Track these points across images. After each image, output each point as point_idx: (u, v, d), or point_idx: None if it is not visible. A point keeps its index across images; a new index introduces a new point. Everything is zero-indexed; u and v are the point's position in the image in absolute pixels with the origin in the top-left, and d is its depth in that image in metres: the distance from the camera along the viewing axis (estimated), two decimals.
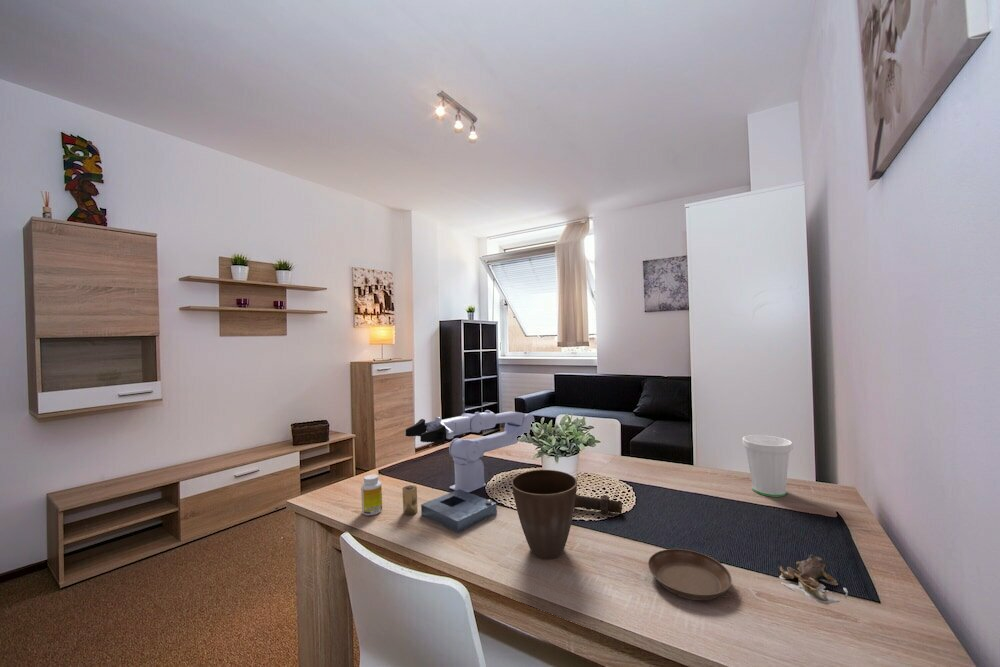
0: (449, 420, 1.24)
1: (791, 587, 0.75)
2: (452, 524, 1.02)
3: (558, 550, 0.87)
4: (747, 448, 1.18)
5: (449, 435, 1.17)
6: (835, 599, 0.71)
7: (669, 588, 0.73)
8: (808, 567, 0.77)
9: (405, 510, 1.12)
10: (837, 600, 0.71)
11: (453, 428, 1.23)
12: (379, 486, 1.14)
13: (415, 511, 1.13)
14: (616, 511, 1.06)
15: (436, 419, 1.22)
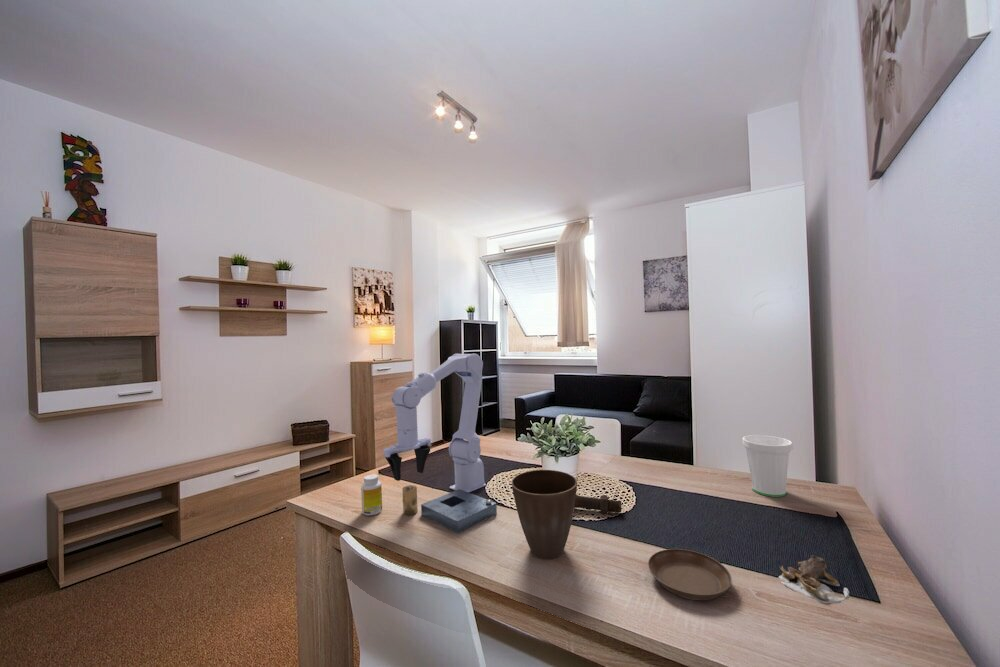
0: (415, 432, 1.13)
1: (792, 587, 0.75)
2: (452, 524, 1.02)
3: (558, 550, 0.87)
4: (747, 448, 1.18)
5: None
6: (836, 599, 0.71)
7: (669, 588, 0.73)
8: (809, 568, 0.76)
9: (405, 510, 1.12)
10: (837, 600, 0.71)
11: None
12: (379, 486, 1.14)
13: (415, 511, 1.13)
14: (616, 510, 1.07)
15: (413, 448, 1.11)
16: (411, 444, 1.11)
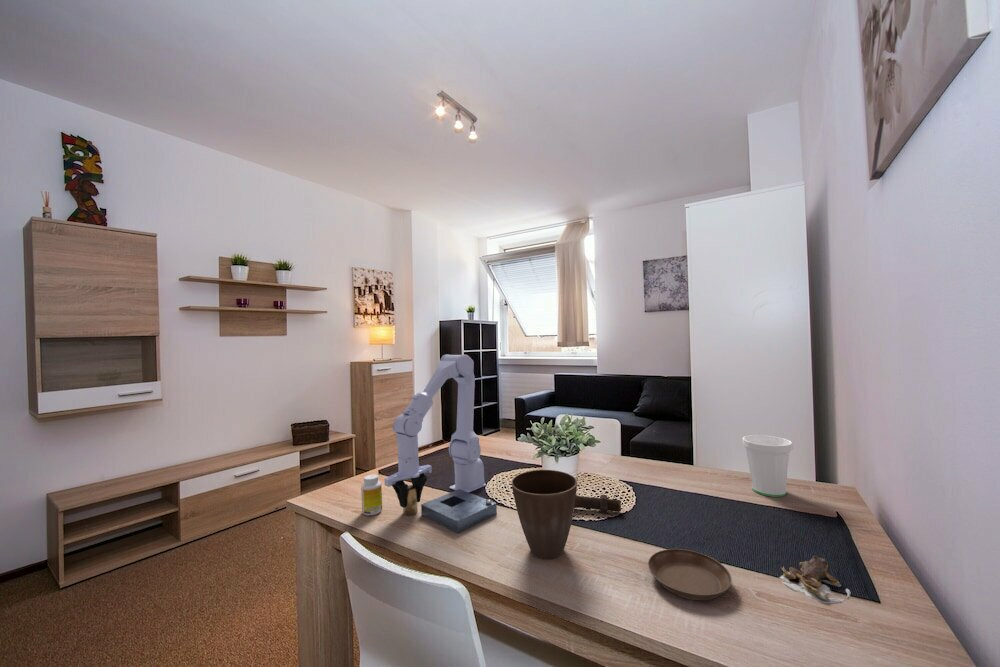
0: (416, 461, 1.13)
1: (793, 587, 0.75)
2: (452, 524, 1.02)
3: (558, 550, 0.87)
4: (747, 448, 1.18)
5: None
6: (837, 600, 0.71)
7: (669, 588, 0.73)
8: (811, 568, 0.76)
9: (405, 510, 1.12)
10: (838, 601, 0.70)
11: None
12: (379, 486, 1.14)
13: (415, 511, 1.13)
14: (616, 510, 1.07)
15: None
16: (412, 472, 1.11)
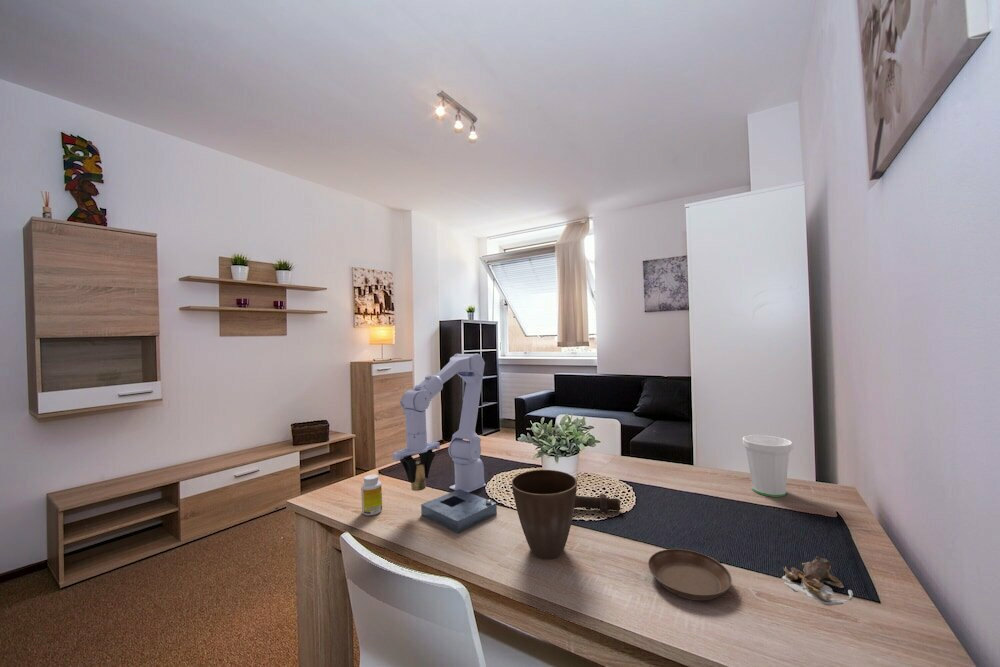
0: (424, 436, 1.12)
1: (794, 587, 0.75)
2: (452, 524, 1.02)
3: (558, 550, 0.87)
4: (747, 448, 1.18)
5: None
6: (838, 601, 0.70)
7: (669, 588, 0.73)
8: (813, 569, 0.76)
9: (413, 486, 1.12)
10: (840, 601, 0.70)
11: None
12: (379, 486, 1.14)
13: (423, 486, 1.12)
14: (615, 509, 1.08)
15: None
16: (420, 448, 1.11)
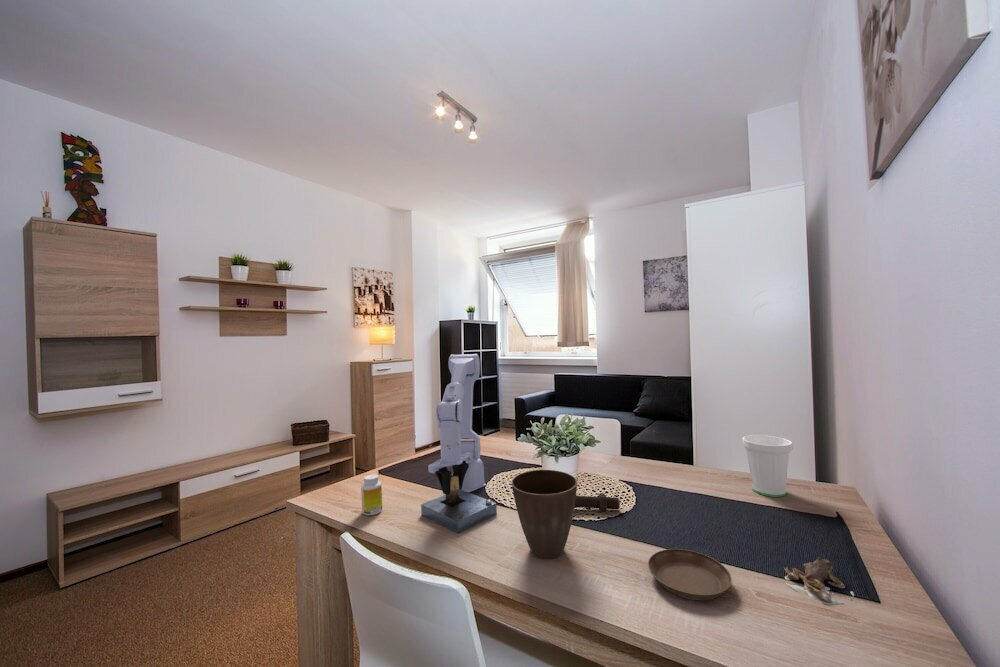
0: (459, 448, 1.12)
1: (795, 588, 0.75)
2: (452, 524, 1.02)
3: (558, 550, 0.87)
4: (747, 448, 1.18)
5: None
6: (839, 601, 0.70)
7: (669, 588, 0.73)
8: (814, 569, 0.76)
9: (448, 498, 1.11)
10: (841, 602, 0.70)
11: None
12: (379, 486, 1.14)
13: (458, 498, 1.12)
14: (615, 507, 1.09)
15: None
16: (455, 459, 1.10)
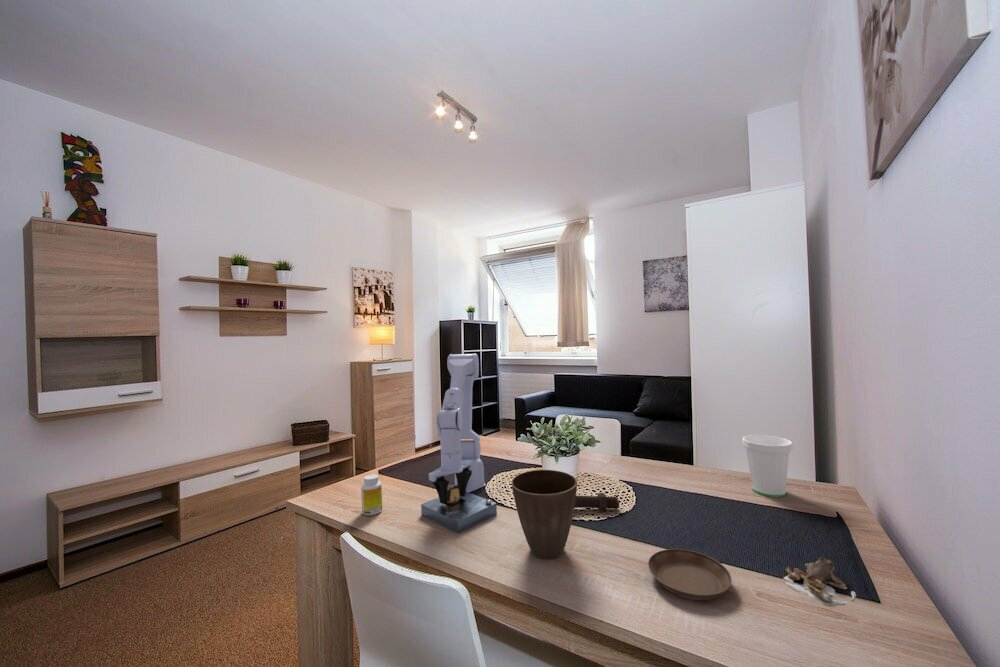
0: (459, 456, 1.12)
1: (796, 588, 0.74)
2: (452, 524, 1.02)
3: (558, 550, 0.87)
4: (747, 448, 1.18)
5: None
6: (840, 602, 0.70)
7: (669, 588, 0.73)
8: (816, 569, 0.76)
9: None
10: (842, 603, 0.70)
11: None
12: (379, 486, 1.14)
13: None
14: (614, 507, 1.09)
15: None
16: (456, 468, 1.10)
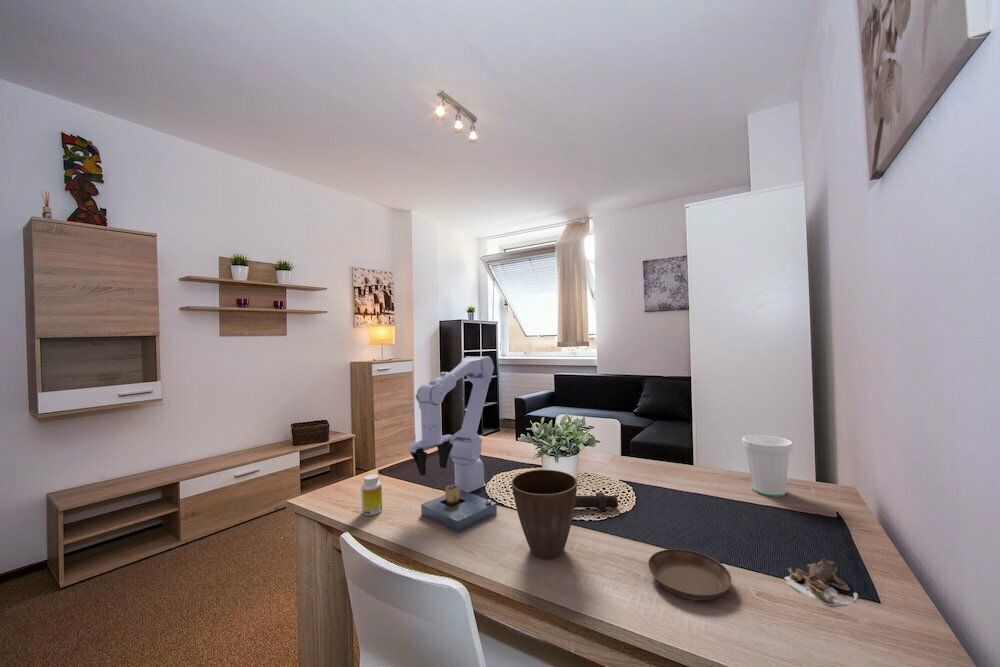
0: (439, 429, 1.16)
1: (797, 588, 0.74)
2: (452, 524, 1.02)
3: (558, 550, 0.87)
4: (747, 448, 1.18)
5: None
6: (842, 603, 0.70)
7: (669, 588, 0.73)
8: (818, 570, 0.76)
9: None
10: (843, 603, 0.70)
11: None
12: (379, 486, 1.14)
13: None
14: (613, 506, 1.10)
15: None
16: (435, 440, 1.15)
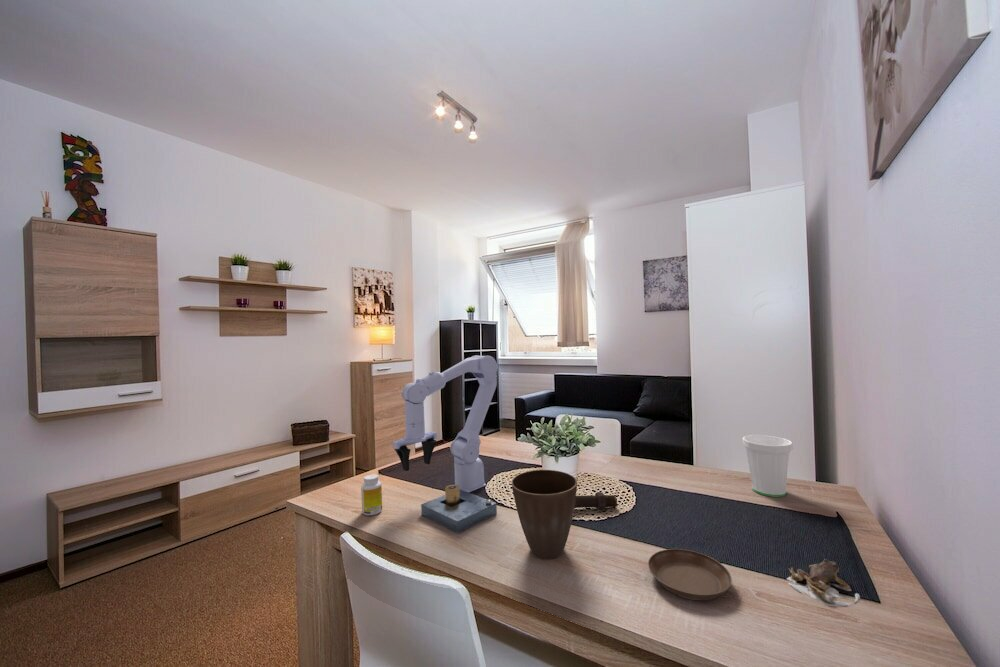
0: (423, 426, 1.20)
1: (798, 588, 0.74)
2: (452, 524, 1.02)
3: (558, 550, 0.87)
4: (747, 448, 1.18)
5: None
6: (843, 603, 0.70)
7: (669, 588, 0.73)
8: (819, 571, 0.75)
9: None
10: (844, 604, 0.70)
11: None
12: (379, 486, 1.14)
13: None
14: (612, 505, 1.10)
15: (420, 441, 1.19)
16: (419, 437, 1.19)
